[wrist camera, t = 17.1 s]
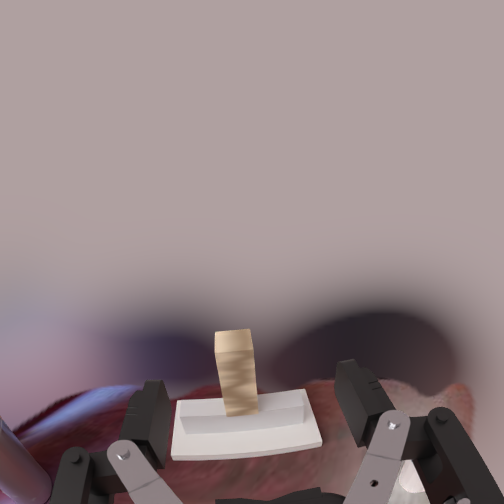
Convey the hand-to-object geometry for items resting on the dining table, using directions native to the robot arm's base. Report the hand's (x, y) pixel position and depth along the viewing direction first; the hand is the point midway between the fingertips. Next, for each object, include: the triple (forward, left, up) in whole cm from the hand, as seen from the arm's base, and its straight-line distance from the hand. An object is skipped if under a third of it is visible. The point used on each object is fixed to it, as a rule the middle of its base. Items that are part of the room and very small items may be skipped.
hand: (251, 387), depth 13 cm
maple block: (-8, +19, -24) cm, 32 cm away
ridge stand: (-8, +19, -30) cm, 37 cm away
